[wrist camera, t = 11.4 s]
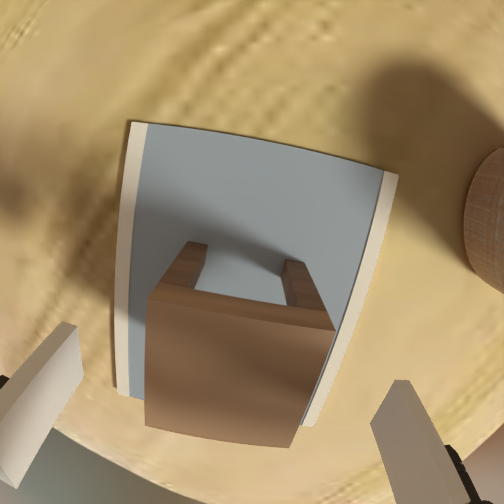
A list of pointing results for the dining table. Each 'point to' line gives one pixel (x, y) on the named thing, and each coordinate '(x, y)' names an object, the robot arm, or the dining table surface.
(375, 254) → the rug
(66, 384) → the robot arm
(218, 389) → the stool
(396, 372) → the dining table surface
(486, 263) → the planter
